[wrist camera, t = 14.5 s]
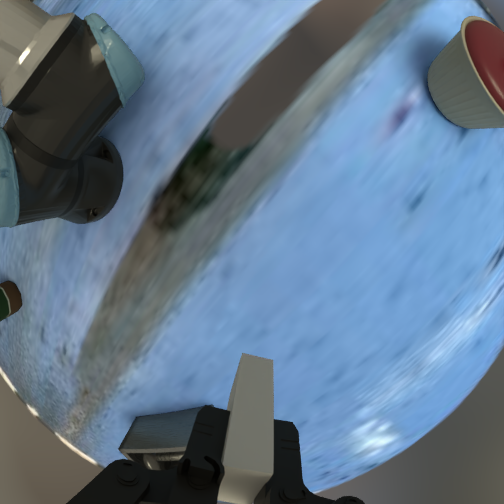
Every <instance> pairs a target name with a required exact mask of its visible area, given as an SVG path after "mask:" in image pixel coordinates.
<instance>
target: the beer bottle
mask: <svg viewBox="0 0 504 504" xmlns="http://www.w3.org/2000/svg"><path fill="white" fill-rule="evenodd" d="M21 306H22V299H21V293H20V292H19V290H18V288H17V286H16V284H14V283H12V282H10V281H6V282H3V283H1V284H0V321H2V320H3V319H5V318H7V317H9V316H10V315H12V314H14V313H15V312H17V311H18V310H19V309H20V307H21Z"/></svg>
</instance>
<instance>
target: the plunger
mask: <svg viewBox="0 0 504 504" xmlns="http://www.w3.org/2000/svg"><path fill="white" fill-rule="evenodd" d="M184 453H185V451H178V452H160V453H142V456H143V460H144V463H145V465H146V467H147V468H148V469H150V470H169V468H170V464H171V461H176V460H180V459H181V457H182V456H183V455H184Z"/></svg>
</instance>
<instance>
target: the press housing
mask: <svg viewBox="0 0 504 504" xmlns="http://www.w3.org/2000/svg"><path fill="white" fill-rule="evenodd" d="M208 406H212V407H214V406H213V405H208ZM203 407H204V406H203ZM203 407H198V408H193V409H187V410H182V411H176V412H169V413H163V414H155V415H148V416H139V417H136V418H135V420H134V422H133V423H132V425H131V427H130V429H129V431H128V432H127V434H126V436H125V438H124V439H123V441H122V443H121V445H120V447H119V448H118V450H119V451H120V452H121V453H122V454H123V455H124V456H125V457H126V458H127V459H128V460H132V461H134V462H137V463H139V464H140V465H141V466H143V467H144V468H145V469H148V468H147V467H146V465H145V463H144V460H143V456H142V453H160V452H178V451H185V450H186V447H187V444H188V441H189V438H190V435H191V431H192V428H193V425H194V422H195V419H196V416H197V413H198V411H199V410H201V409H202V408H203ZM178 462H179V460H176V461H171V464H170V468H169V469H172V468H174V467H176V466H178Z"/></svg>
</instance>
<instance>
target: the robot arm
mask: <svg viewBox="0 0 504 504" xmlns="http://www.w3.org/2000/svg"><path fill="white" fill-rule="evenodd" d="M144 78H145V73H144V69H143V67H142V65H141V64H140V62H139V61H138V59H137V58H136V57H135V55H134V54H133V53H132V51H131V50H130V49H129V47H128V46H127V45H126V44H125V42H124V41H123V40H122V39H121V38H120V36H119V35H118V34H117V33H116V32H115V31H114V30H112V28H111V27H110V26H109V25H108V24H107V22H106V21H105V20H104V19H103V18H102V17H101V16H99V15H98V14H96V13H92V14H90V15H88V16H86V17H85V18H84V20H82V19H80V18H79V17H78V16H77V15H75V14H74V13H67V14H62V15H58V16H51V15H50V14H48V13H47V12H45V11H44V10H42V9H41V8H40V7H38V6H37V5H35V4H34V3H32V2H31V1H29V0H0V89H1V95H2V102H3V106H5V107H6V108H8V109H10V110H12V111H13V112H12V113H11V115H10V117H9V119H8V120H7V122H6V124H5V126H4V127H3V128H2V127H0V227H10V228H11V227H14V226H16V225H21V224H26V223H30V222H35V221H40V220H45V219H50V218H56V217H59V218H62V219H64V220H67V221H70V222H73V223H77V224H85V223H90V222H95V221H97V220H100V219H101V218H103V217H104V216H105V215H107V214H108V213H109V212H110V210H111V209H112V208H113V206H114V205H115V203H116V201H117V199H118V197H119V194H120V191H121V187H122V182H123V167H122V161H121V158H120V155H119V153H118V151H117V149H116V148H115V146H114V145H113V144H112V143H111V142H110V141H108V140H107V139H105V138H102V137H99V136H98V135H99V134H100V132H101V131H102V130H103V129H104V127H105V126H106V125H107V124H108V123H109V122H110V120H111V119H112V118H113V117H114V116H115V115H116V114H117V113H118V111H119V110H120V109H121V108H124V107H125V106H126V102H127V101H128V100H129V99H130V98H131V96H132V95H133V94H134V93H135V92H136V91H137V90H138V89H139V88H140V86H141V85H142V84H143V81H144ZM217 500H220V501H225V502H231V503H237V504H252V503H253V502H254V504H365V503H364V502H363V501H362V500H360V499H359V498H357V497H352V496H344V497H341V498H339V499H337V500H336V501H335V500H331V499H327V498H323V497H320V496H317V495H315V494H313V493H312V492H310V491H309V490H308V489H307V487H306V486H305V485H304V483H303V479H302V467H301V455H300V444H299V433H298V430H297V429H296V427H295V425H294V424H293V422H288V421H282V420H275V419H274V393H273V360H271V359H266V358H262V357H257V356H253V355H249V354H245V353H242V356H241V359H240V362H239V366H238V369H237V373H236V376H235V379H234V383H233V386H232V389H231V393H230V397H229V402H228V407H227V410H223V409H219V408H216V407H212V406H208V405H205V406H204V407H203V408H202V409H201V410H199V411H198V413H197V416H196V419H195V422H194V425H193V428H192V431H191V435H190V438H189V441H188V444H187V447H186V450H185V453H184V455H183V456H182V457H181V459H180V460H179V462H178V466H176V467H174V468H172V469H169V470H150V469H145V468H144V467H143V466H141V465H140V464H139V463H137V462H134V461H132V460H126V459H121V460H115V461H114V462H112V463H110V464H109V465H108V466H107V467H106V468H105V469H104V470H103V471H102V472H101V473H99V474H98V475H97V476H96V477H95V478H94V479H93V480H92V481H91V482H90V483H89V484H88V485H86V486H85V487H84V488H83V489H82V490H81V491H80V492H79V493H78V494H77V495H76V496H74V497H73V498H72V499H71V500H70V501H69V502H68V503H66V504H217Z"/></svg>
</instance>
